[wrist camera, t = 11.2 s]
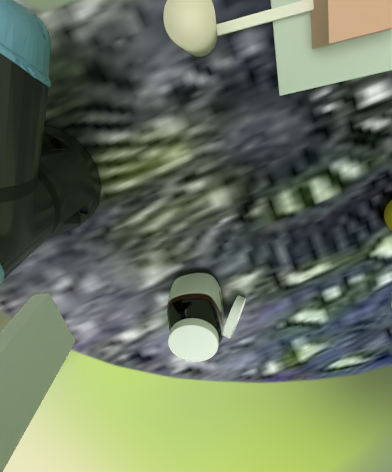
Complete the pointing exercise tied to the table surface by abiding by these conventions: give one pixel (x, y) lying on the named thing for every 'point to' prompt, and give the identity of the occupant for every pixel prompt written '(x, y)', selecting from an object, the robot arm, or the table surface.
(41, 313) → the robot arm
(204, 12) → the tan block and peg
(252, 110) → the table surface
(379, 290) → the table surface
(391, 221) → the lemon
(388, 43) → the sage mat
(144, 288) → the table surface
